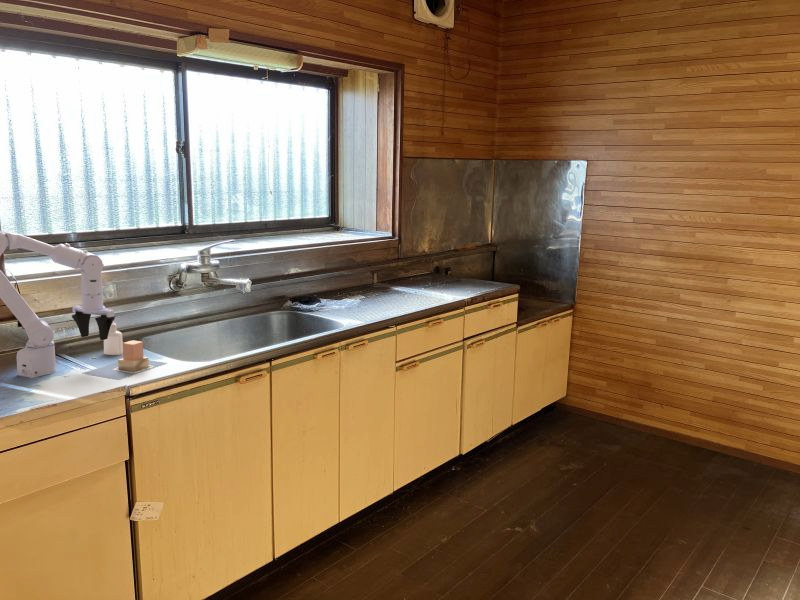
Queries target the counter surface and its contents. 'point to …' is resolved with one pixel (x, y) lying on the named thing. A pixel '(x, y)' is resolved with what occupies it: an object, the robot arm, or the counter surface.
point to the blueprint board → (119, 371)
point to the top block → (132, 350)
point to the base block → (133, 364)
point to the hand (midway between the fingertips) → (94, 337)
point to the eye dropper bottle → (113, 341)
